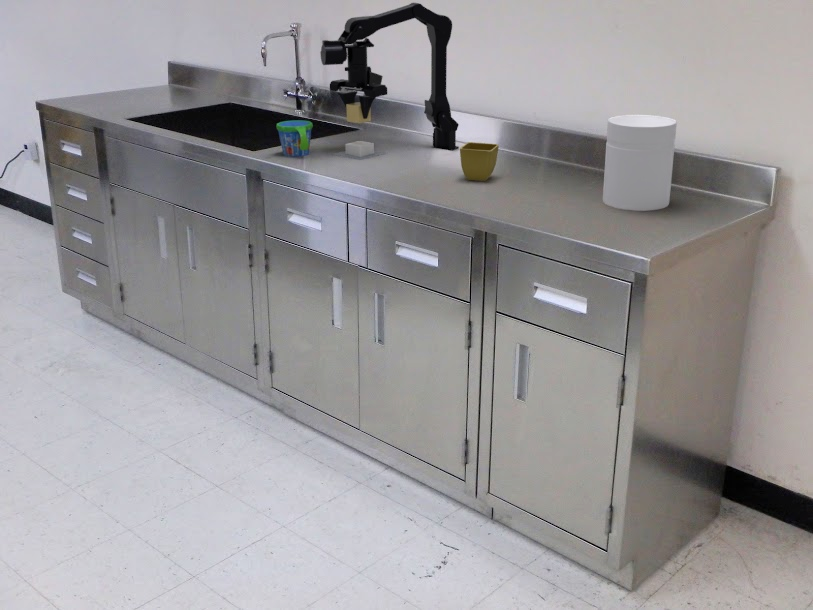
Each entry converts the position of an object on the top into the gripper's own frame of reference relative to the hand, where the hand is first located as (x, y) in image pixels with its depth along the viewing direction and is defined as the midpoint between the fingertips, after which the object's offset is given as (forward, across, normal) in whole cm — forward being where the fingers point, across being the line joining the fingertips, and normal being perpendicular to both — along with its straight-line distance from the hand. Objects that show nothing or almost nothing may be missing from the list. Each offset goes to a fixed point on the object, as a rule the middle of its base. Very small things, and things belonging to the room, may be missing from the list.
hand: (358, 117), depth 279 cm
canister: (+12, -88, -8) cm, 89 cm away
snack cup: (+12, +14, +12) cm, 23 cm away
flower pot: (+12, -44, -1) cm, 46 cm away
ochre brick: (+1, 0, 0) cm, 1 cm away
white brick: (+11, 0, 0) cm, 11 cm away
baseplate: (+12, 0, 0) cm, 12 cm away
